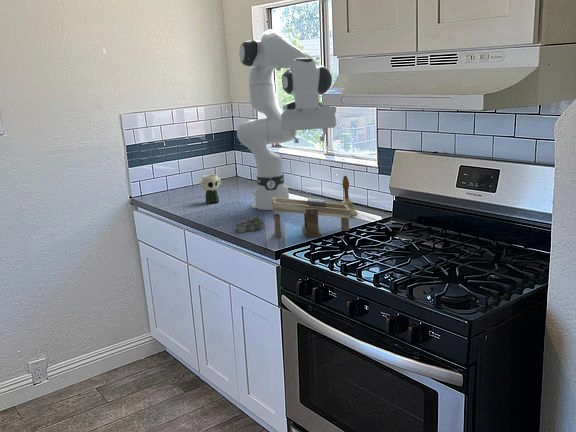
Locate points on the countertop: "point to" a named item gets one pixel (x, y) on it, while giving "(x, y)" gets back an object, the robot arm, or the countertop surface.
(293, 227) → the countertop surface
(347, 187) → the hand bell
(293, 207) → the beam
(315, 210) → the beam stand
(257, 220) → the egg carton
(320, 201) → the steel block
